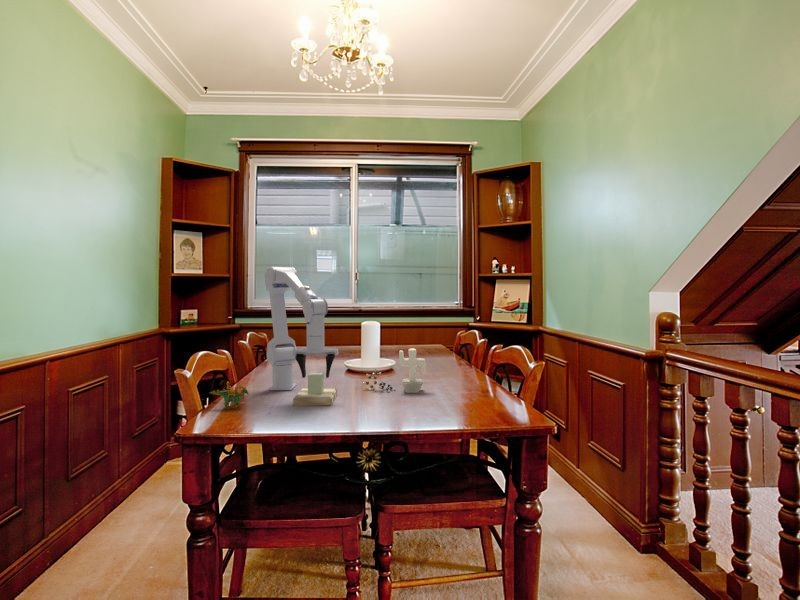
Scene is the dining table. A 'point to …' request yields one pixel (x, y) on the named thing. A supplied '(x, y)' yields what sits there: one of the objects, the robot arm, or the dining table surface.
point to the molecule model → (377, 383)
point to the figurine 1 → (231, 395)
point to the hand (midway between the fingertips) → (315, 377)
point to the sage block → (315, 383)
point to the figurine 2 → (412, 370)
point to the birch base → (315, 397)
